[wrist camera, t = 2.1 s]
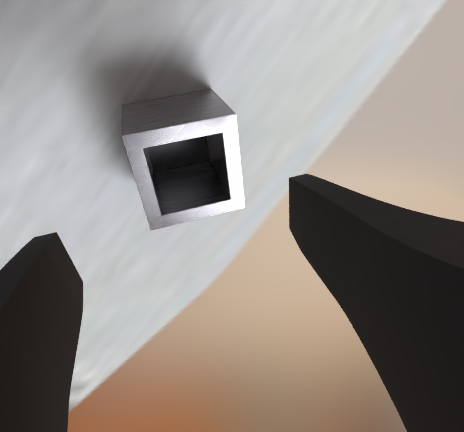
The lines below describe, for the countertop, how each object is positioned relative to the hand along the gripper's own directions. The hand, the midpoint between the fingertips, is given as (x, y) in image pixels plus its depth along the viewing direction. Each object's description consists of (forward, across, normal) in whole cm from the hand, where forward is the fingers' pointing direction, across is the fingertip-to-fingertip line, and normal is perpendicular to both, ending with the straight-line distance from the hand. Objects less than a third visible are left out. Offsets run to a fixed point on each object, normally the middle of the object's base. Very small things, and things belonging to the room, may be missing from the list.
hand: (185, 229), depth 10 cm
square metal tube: (+10, -1, +1) cm, 11 cm away
